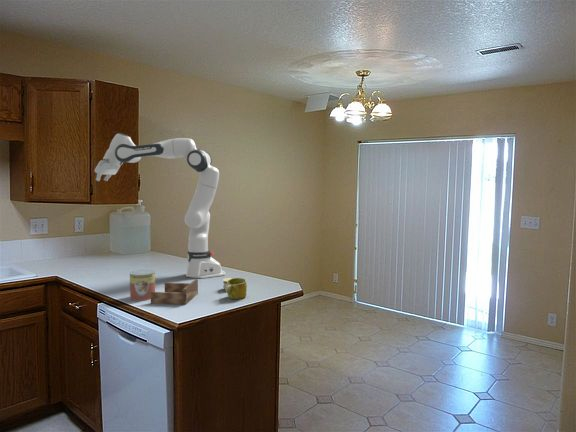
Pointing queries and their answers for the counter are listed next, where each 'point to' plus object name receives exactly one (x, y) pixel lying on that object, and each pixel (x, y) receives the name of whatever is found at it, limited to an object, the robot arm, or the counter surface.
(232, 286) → the mug
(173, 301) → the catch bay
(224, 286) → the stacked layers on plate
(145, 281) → the canned food
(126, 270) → the counter surface
